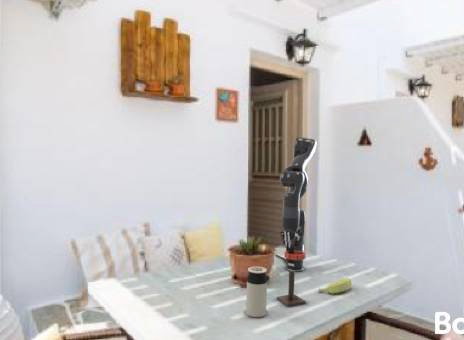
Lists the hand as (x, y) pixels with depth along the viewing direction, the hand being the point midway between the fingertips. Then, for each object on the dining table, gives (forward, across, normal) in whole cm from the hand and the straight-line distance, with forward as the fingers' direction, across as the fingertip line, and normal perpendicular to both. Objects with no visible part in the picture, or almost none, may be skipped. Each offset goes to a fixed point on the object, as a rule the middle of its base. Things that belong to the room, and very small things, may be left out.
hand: (289, 255), depth 171 cm
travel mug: (+20, -9, +21) cm, 30 cm away
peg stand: (+19, -4, +1) cm, 20 cm away
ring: (0, -4, 0) cm, 4 cm away
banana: (+19, 0, -27) cm, 33 cm away
